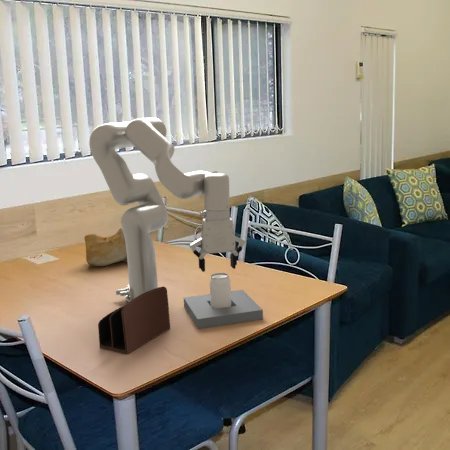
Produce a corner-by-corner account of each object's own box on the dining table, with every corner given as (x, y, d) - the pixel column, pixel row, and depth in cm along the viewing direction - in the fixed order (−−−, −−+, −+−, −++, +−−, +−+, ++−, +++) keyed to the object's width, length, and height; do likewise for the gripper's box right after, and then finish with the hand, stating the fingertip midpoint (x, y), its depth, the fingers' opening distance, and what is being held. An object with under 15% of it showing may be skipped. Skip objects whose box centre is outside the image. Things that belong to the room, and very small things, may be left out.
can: (229, 316, 178) (227, 279, 175) (208, 315, 179) (207, 278, 176) (233, 309, 184) (231, 272, 181) (213, 308, 185) (211, 272, 183)
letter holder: (170, 328, 171) (167, 283, 168) (127, 355, 154) (123, 305, 151) (144, 323, 176) (140, 278, 173) (99, 348, 159) (94, 300, 156)
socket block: (198, 328, 169) (197, 319, 169) (184, 306, 188) (183, 297, 188) (262, 319, 175) (262, 309, 174) (242, 298, 193) (242, 289, 193)
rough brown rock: (136, 254, 257) (131, 221, 254) (145, 260, 241) (140, 225, 239) (83, 264, 249) (78, 229, 246) (88, 270, 233) (83, 234, 231)
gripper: (191, 219, 169) (193, 275, 173) (248, 215, 173) (248, 269, 177) (186, 214, 176) (187, 268, 180) (240, 210, 180) (241, 262, 184)
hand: (218, 268), depth 179 cm, fingers open, 9 cm apart
